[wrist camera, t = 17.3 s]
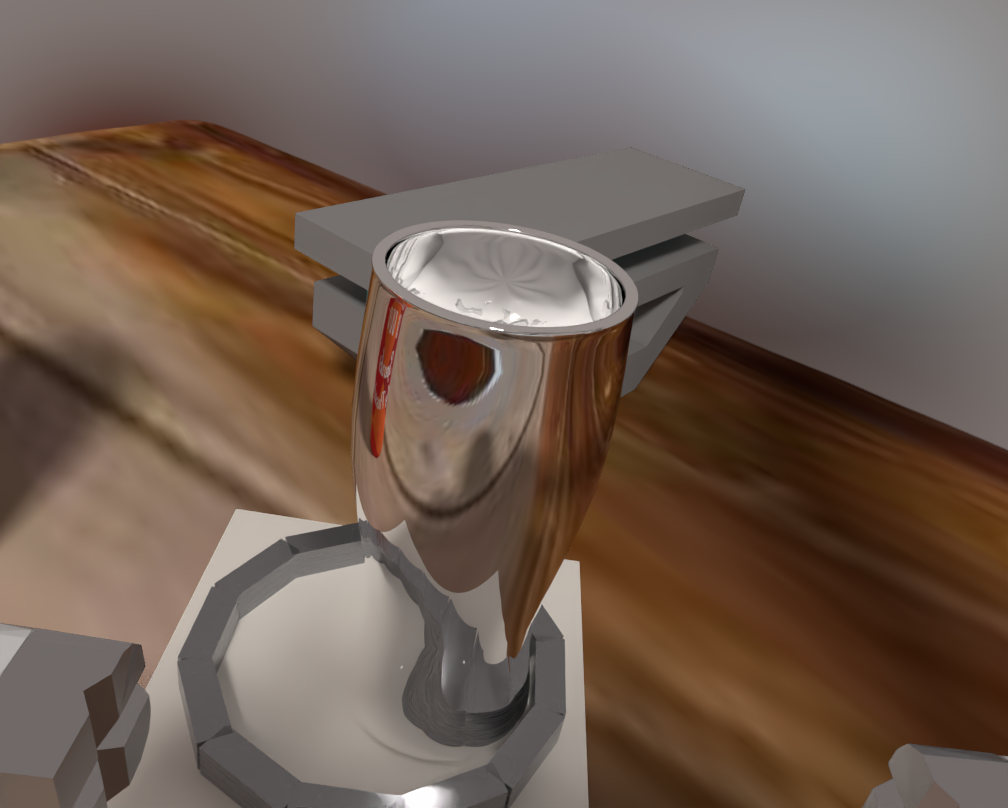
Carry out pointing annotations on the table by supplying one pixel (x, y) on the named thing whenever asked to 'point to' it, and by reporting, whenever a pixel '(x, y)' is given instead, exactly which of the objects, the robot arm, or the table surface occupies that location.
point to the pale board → (324, 690)
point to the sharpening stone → (550, 208)
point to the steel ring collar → (294, 804)
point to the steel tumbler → (473, 466)
